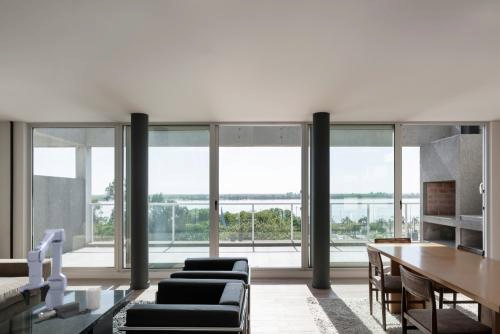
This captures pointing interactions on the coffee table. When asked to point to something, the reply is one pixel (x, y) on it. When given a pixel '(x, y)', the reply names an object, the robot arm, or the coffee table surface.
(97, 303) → the white cup
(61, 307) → the hinge leaves
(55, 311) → the hinge pin
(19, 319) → the coffee table surface
